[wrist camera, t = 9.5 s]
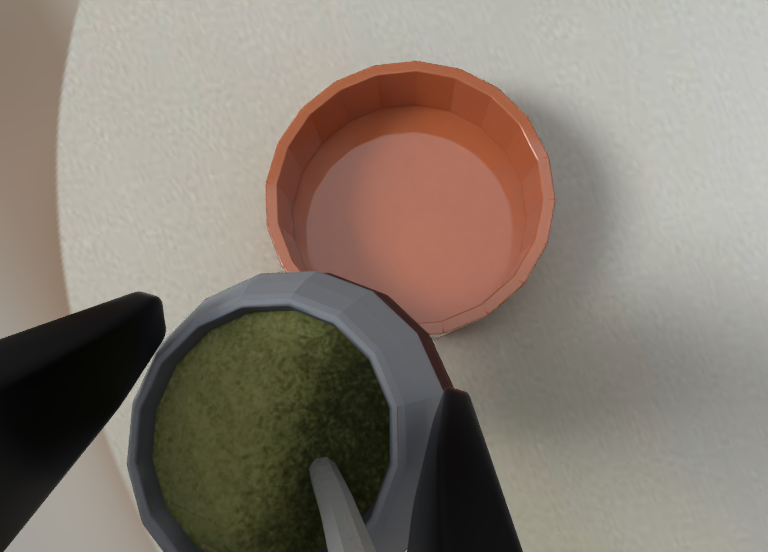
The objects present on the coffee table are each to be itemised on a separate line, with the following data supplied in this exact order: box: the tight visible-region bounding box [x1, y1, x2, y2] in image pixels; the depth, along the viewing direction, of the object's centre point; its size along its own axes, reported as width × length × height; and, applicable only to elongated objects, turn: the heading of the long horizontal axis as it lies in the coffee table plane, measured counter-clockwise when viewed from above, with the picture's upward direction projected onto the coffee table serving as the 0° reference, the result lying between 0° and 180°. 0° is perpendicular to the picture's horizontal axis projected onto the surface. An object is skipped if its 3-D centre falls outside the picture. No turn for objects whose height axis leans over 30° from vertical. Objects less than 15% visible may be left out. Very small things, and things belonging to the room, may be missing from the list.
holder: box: [266, 61, 555, 338], centre depth 20 cm, size 12×12×3 cm
